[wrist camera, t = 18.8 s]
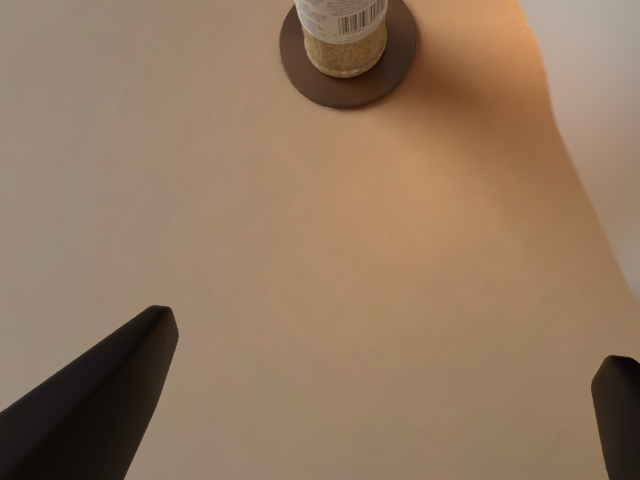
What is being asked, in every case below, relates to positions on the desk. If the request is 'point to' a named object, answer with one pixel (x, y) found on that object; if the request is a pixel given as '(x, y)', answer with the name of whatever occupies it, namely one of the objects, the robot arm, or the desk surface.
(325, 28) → the spice jar
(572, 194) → the desk surface
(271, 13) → the desk surface
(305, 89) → the coaster
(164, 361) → the robot arm
